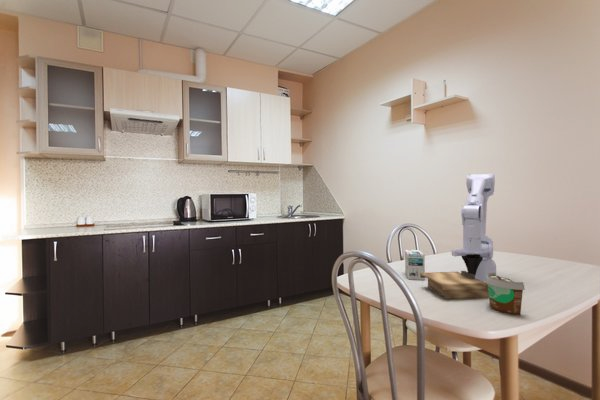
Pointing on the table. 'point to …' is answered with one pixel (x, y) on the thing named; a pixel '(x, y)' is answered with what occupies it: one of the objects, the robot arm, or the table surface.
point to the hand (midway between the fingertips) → (471, 275)
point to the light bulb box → (414, 264)
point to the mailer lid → (454, 280)
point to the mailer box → (460, 292)
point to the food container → (504, 294)
